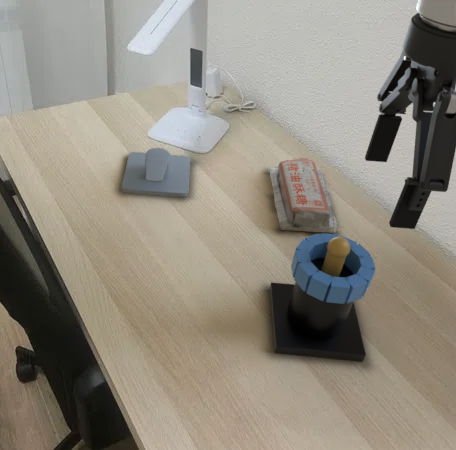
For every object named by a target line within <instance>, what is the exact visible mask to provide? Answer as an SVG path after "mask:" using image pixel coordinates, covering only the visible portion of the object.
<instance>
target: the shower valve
mask: <svg viewBox="0 0 456 450" xmlns="http://www.w3.org/2000/svg"><path fill="white" fill-rule="evenodd" d="M191 161H192V159H191V157H189V156H187V155H177V154H171V153H170V151H169V150H167V149H165V148H162V147H152V148H149V149H147V151H146V152H137V151H133V152H132V151H131V152H130V153H128V157H127V161H126V165H125V170H124V174H123V178H122V183H121V191H122V192H123V193H125V194H134V195H148V196H161V197H174V198H186V197H188V195H189V188H190V187H189V186H190V175H191Z"/></svg>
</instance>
